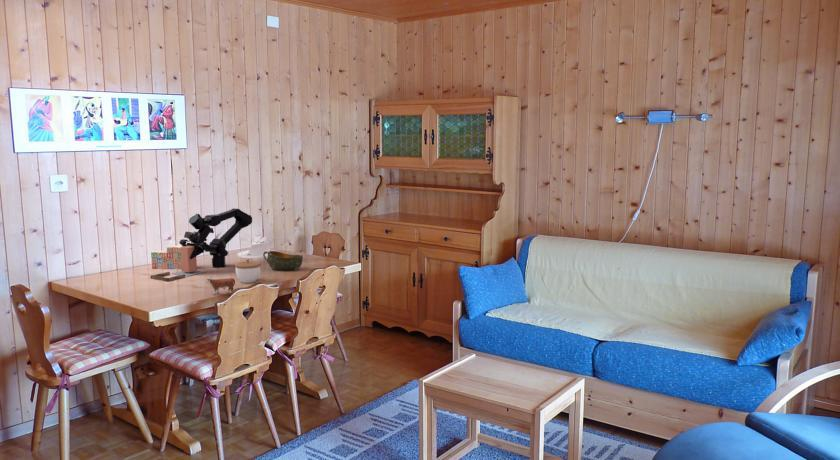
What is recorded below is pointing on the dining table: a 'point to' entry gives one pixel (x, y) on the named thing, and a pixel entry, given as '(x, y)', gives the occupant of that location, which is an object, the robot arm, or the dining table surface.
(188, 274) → the slate-grey mat
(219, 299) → the dining table surface
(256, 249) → the dish
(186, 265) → the salmon-pink block
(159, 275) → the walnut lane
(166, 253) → the stack of blocks
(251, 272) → the lidded bowl
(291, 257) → the cup
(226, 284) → the bull figurine
